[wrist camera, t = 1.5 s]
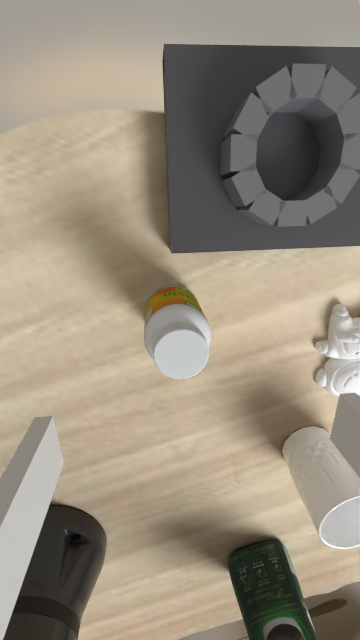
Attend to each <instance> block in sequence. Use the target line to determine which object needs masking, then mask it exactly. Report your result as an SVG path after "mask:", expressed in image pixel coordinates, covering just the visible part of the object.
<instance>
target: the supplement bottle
mask: <svg viewBox="0 0 360 640" xmlns="http://www.w3.org/2000/svg"><path fill="white" fill-rule="evenodd" d="M210 341H211V332H210V327H209V324H208V321H207V319H206V318H205V316H204V314H203V312H202V309H201V308H200V305H199V303H198V301H197V299H196V298H195V296H194V295H193V294H192V293H191V292H190V291H189V290H188V289H186V288H184V287H181V286H178V285H168V286H164V287H161V288H159V289H158V290H156V291H155V292H154V293H153V294H152V295H151V296H150V298H149V300H148V302H147V305H146V310H145V327H144V342H145V346H146V349H147V351H148V353H149V355H150V356H151V357H152V358H153V359H154V362H155V365H156V367H157V368H158V369H159V370H160V371H161V372H162V373H163V374H164V375H166V376H168V377H171V378H175V379H185V378H189V377H192V376H194V375H196V374H197V373H199V372H200V371H201V370H202V369H203V368H204V366H205V365H206V363H207V361H208V357H209V345H210Z"/></svg>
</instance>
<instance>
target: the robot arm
mask: <svg viewBox="0 0 360 640" xmlns="http://www.w3.org/2000/svg"><path fill="white" fill-rule="evenodd" d="M330 440H331V441H332V443H333V444H334V445H335V446H336V448H337V449H338V450H339V452H340V453H341V454H342V456H343V457H344V458H345V460H346V461H347V462H348V464H349V465H350V466H351V467H352V469H353V470H354V471H355V473H356V474H357V475H358V477H359V478H360V396H359V395H357V394H356V393H344V394H340V395H339V400H338V405H337V409H336V414H335V418H334V423H333V428H332V432H331V437H330ZM63 464H64V461H63V457H62V453H61V448H60V444H59V440H58V436H57V431H56V427H55V423H54V419H53V416H48V417H36V418H34V420H33V422H32V424H31V425H30V427H29V429H28V431H27V433H26V434H25V436H24V438H23V440H22V441H21V443H20V445H19V447H18V449H17V450H16V452H15V454H14V456H13V458H12V459H11V461H10V463H9V465H8V467H7V468H6V470H5V472H4V474H3V476H2V477H1V479H0V640H77V639H78V634H79V628H80V622H81V618H82V615H83V612H84V610H85V607H86V605H87V603H88V600H89V598H90V596H91V593H92V591H93V588H94V586H95V584H96V581H97V579H98V576H99V574H100V572H101V569H102V566H103V563H104V558H105V551H106V543H107V540H106V534H105V532H104V530H103V528H102V527H101V525H100V524H99V523H98V522H97V521H96V520H95V519H94V518H92V517H91V516H89V515H87V514H86V513H84V512H81V511H79V510H76V509H73V508H69V507H64V506H56V505H50V502H51V499H52V496H53V493H54V490H55V488H56V485H57V482H58V479H59V476H60V473H61V470H62V467H63Z"/></svg>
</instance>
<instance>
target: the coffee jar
mask: <svg viewBox="0 0 360 640" xmlns="http://www.w3.org/2000/svg"><path fill="white" fill-rule="evenodd" d="M228 568H229V572H230V577H231V581H232V584H233V588H234V591H235V595H236V598H237V601H238V604H239V607H240V610H241V614H242V617H243V620H244V623H245V626H246V629H247V633H248V636H249V640H318V638H317V635H316V633H315V630H314V627H313V624H312V622H311V619H310V616H309V613H308V610H307V607H306V604H305V601H304V598H303V595H302V592H301V588H300V585H299V582H298V579H297V576H296V573H295V570H294V567H293V564H292V561H291V559H290V556H289V554H288V551H287V549H286V547H285V546H284V545H283V544H281V543H279V542H277V541H268V542H263V543H259V544H255V545H252V546H249V547H246V548H243V549H240V550H238V551H236V552H234V553H233V554H232V556H231V557H230V559H229V562H228Z"/></svg>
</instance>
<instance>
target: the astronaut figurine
mask: <svg viewBox="0 0 360 640" xmlns="http://www.w3.org/2000/svg"><path fill="white" fill-rule="evenodd" d="M315 348H316V349H317V350H318V351H319V352H320V353H321V354H324V355H325V356H327V357H330V358H329V360H328V361H327V362H326V363H325V365H324V368H323V369H320V370H318V371H317V373H316V375H315V381H316V383H317V384H318V385H319V386H321V387H323V388H324V389H325V390H326V391H328V392H329V393H331V394H333V395H335V396H339V395H340V394H344V393H356V394H357V395H359V394H360V317H353V318H351V316H350V315H348V310H347V309H346V308H345V306H344V305H342V304H336V305H334V307H333V309H332V313H331V316H330V320H329V328H328V338H327V340H322V341H317V342H316V343H315Z"/></svg>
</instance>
